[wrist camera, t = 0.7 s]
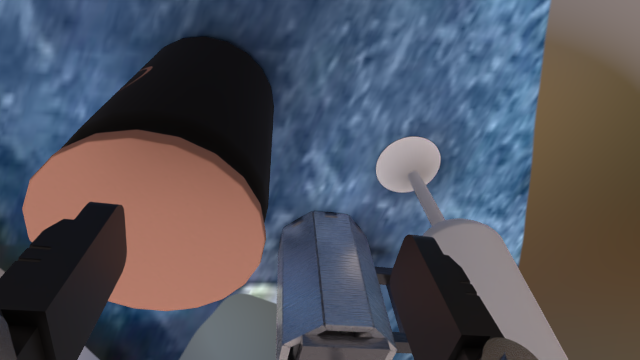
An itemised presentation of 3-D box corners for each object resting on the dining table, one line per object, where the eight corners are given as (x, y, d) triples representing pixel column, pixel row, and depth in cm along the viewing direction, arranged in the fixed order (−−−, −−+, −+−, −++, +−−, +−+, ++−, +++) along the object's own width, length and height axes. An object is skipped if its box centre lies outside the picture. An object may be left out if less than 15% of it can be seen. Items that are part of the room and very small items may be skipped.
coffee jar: (159, 9, 28) (20, 98, 13) (291, 62, 31) (299, 183, 16) (137, 129, 33) (19, 289, 18) (252, 164, 36) (231, 327, 21)
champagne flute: (369, 190, 39) (457, 457, 19) (383, 133, 36) (510, 389, 16) (429, 194, 40) (572, 452, 20) (449, 139, 37) (648, 387, 17)
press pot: (286, 207, 40) (287, 334, 27) (400, 219, 42) (449, 341, 29) (274, 271, 45) (270, 402, 32) (376, 279, 47) (409, 404, 35)
